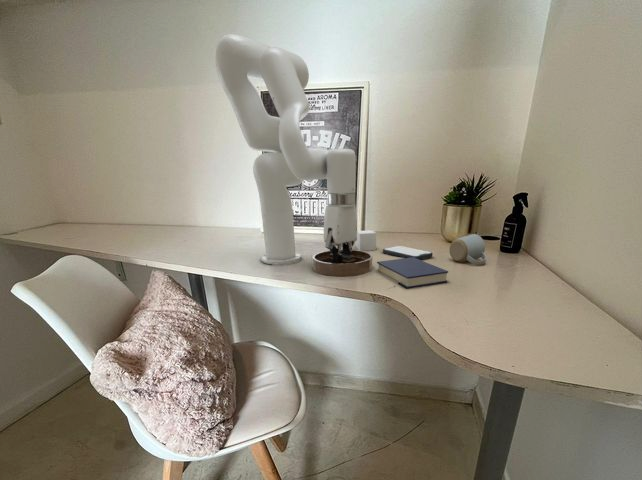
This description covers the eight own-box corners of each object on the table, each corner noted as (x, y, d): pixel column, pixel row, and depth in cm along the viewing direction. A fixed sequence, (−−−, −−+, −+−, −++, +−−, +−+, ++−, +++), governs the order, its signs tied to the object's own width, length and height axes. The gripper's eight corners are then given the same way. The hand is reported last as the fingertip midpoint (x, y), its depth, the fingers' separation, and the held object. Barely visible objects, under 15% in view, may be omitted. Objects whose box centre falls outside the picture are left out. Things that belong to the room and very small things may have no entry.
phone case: (380, 253, 116) (415, 261, 104) (380, 248, 115) (415, 256, 103) (399, 249, 120) (434, 257, 108) (399, 245, 120) (434, 252, 107)
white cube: (359, 250, 119) (359, 233, 116) (355, 247, 124) (355, 230, 122) (376, 249, 120) (376, 232, 117) (371, 246, 125) (371, 230, 123)
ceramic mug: (446, 259, 105) (449, 235, 102) (463, 255, 109) (467, 232, 106) (473, 267, 97) (477, 241, 94) (491, 263, 101) (496, 238, 98)
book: (376, 271, 95) (376, 261, 94) (412, 266, 99) (413, 257, 98) (406, 288, 81) (407, 277, 80) (447, 282, 85) (448, 271, 84)
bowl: (306, 265, 102) (305, 252, 100) (357, 259, 108) (357, 247, 106) (324, 281, 87) (323, 267, 86) (382, 273, 93) (383, 259, 91)
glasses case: (329, 266, 98) (328, 254, 97) (335, 264, 100) (335, 252, 99) (348, 270, 94) (348, 258, 93) (355, 268, 96) (355, 255, 95)
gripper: (348, 197, 98) (348, 258, 105) (310, 201, 86) (313, 270, 93) (370, 198, 93) (368, 262, 101) (332, 203, 82) (334, 275, 89)
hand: (341, 265), depth 97 cm, fingers closed on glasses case, 3 cm apart
